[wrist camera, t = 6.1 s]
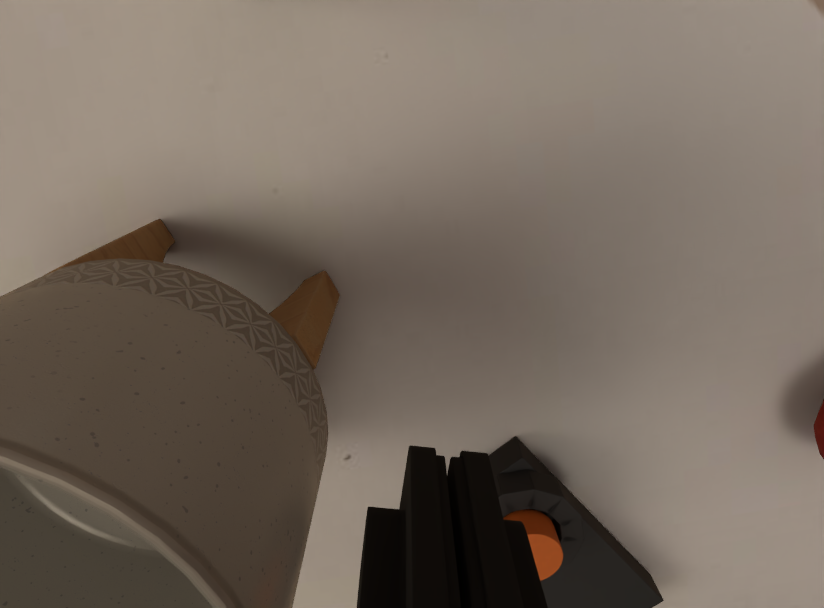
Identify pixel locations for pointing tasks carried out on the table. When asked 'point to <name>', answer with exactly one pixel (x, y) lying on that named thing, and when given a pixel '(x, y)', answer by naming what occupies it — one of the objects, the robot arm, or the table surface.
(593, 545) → the black flat block
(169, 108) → the table surface
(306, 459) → the planter
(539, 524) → the button
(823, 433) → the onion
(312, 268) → the table surface
